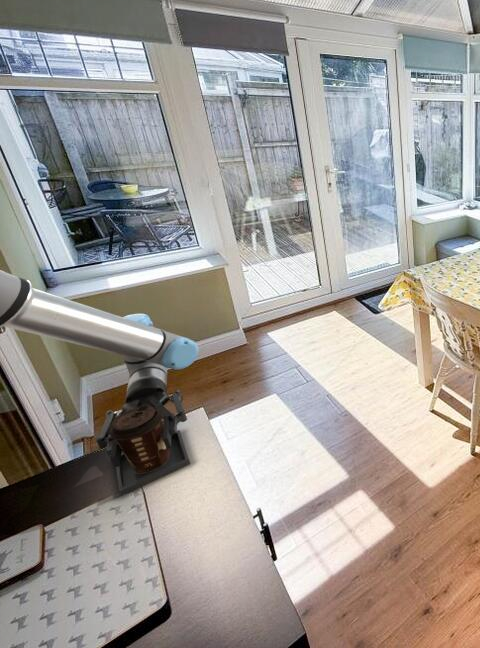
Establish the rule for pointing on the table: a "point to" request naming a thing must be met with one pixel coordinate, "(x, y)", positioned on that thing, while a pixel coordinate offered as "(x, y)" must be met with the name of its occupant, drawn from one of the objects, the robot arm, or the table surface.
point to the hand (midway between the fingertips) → (141, 452)
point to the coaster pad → (134, 481)
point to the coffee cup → (141, 438)
